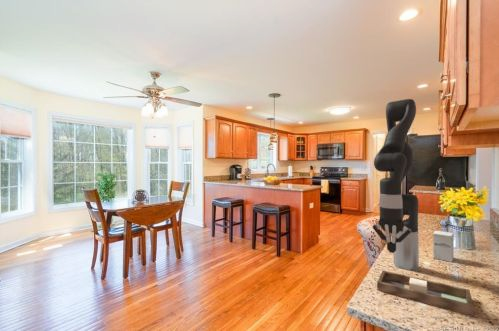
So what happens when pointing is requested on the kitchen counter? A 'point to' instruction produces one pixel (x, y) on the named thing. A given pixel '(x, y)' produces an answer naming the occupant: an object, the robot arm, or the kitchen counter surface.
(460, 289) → the channel
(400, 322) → the kitchen counter surface
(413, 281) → the cream block
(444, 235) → the supplement box
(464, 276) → the kitchen counter surface
